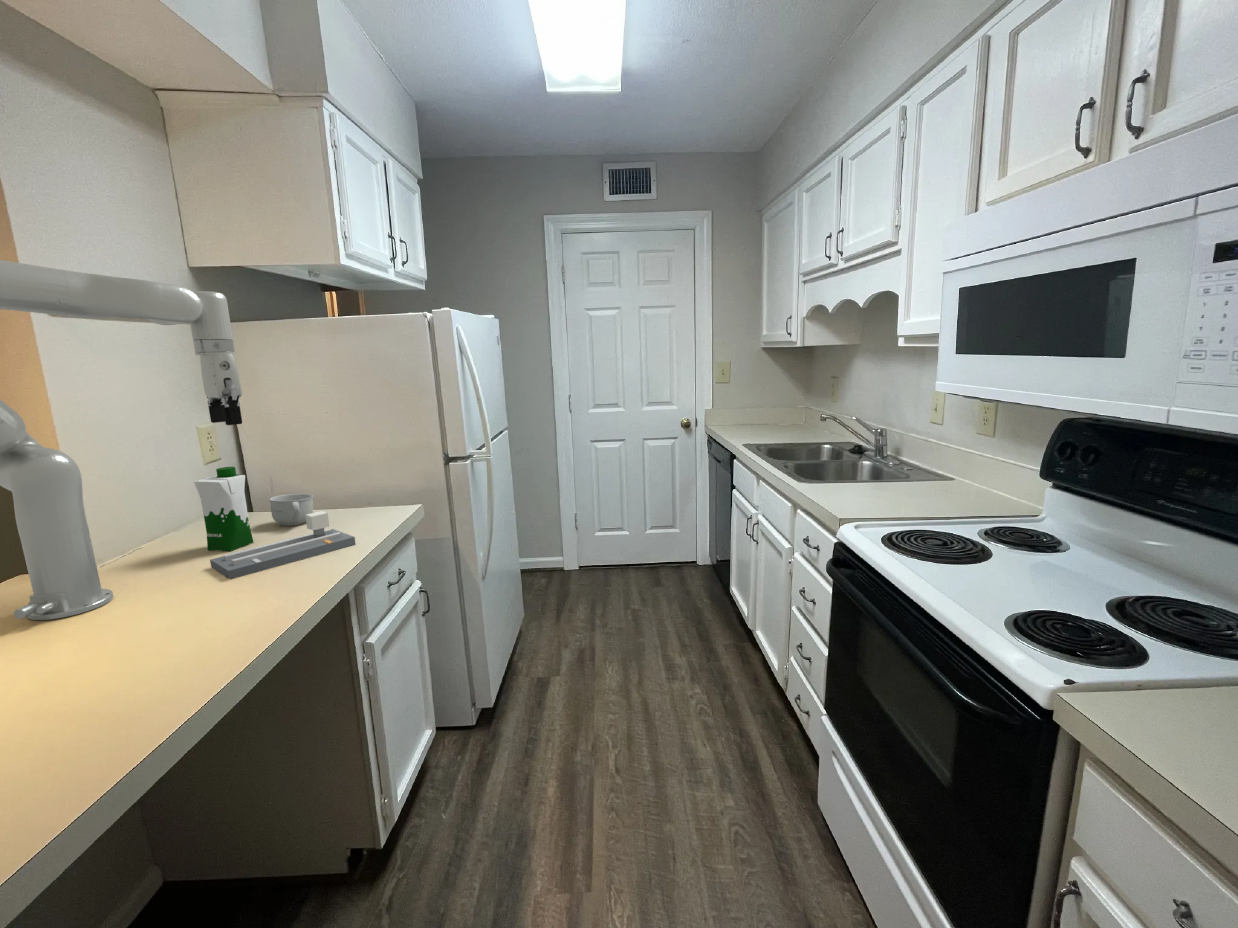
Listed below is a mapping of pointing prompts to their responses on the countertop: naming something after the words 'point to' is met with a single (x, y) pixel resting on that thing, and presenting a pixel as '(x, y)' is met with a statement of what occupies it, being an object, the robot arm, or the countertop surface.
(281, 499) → the teacup
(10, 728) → the countertop surface
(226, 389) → the robot arm
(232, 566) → the fader panel
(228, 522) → the milk carton
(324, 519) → the fader
